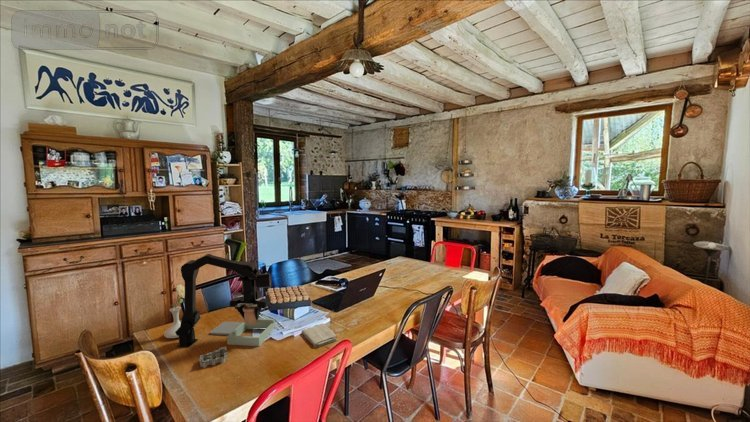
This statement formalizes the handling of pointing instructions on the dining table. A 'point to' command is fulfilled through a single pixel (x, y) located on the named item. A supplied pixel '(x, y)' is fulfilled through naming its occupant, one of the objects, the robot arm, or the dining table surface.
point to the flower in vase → (175, 314)
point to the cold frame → (236, 339)
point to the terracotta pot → (249, 314)
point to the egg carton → (210, 355)
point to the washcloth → (319, 335)
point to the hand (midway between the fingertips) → (251, 319)
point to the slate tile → (225, 328)
